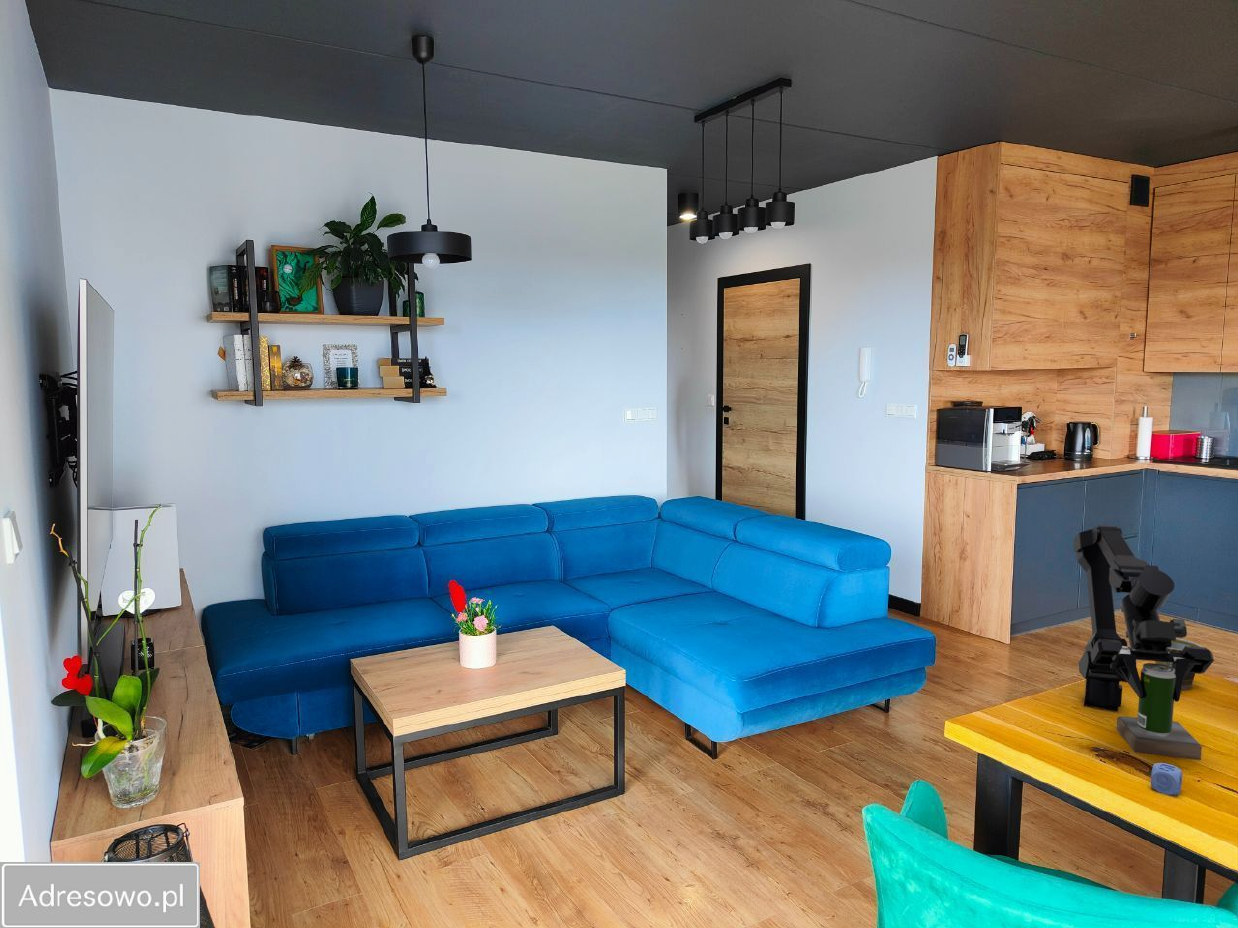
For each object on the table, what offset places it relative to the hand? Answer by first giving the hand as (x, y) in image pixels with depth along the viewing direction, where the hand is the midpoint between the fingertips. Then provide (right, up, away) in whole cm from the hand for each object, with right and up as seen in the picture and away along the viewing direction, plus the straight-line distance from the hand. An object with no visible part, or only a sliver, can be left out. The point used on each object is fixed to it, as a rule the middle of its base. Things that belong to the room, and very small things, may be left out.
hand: (1159, 699), depth 148 cm
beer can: (0, -7, +2) cm, 7 cm away
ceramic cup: (+32, -10, +43) cm, 54 cm away
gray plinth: (+7, -12, +12) cm, 19 cm away
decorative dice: (-3, -14, -6) cm, 16 cm away
